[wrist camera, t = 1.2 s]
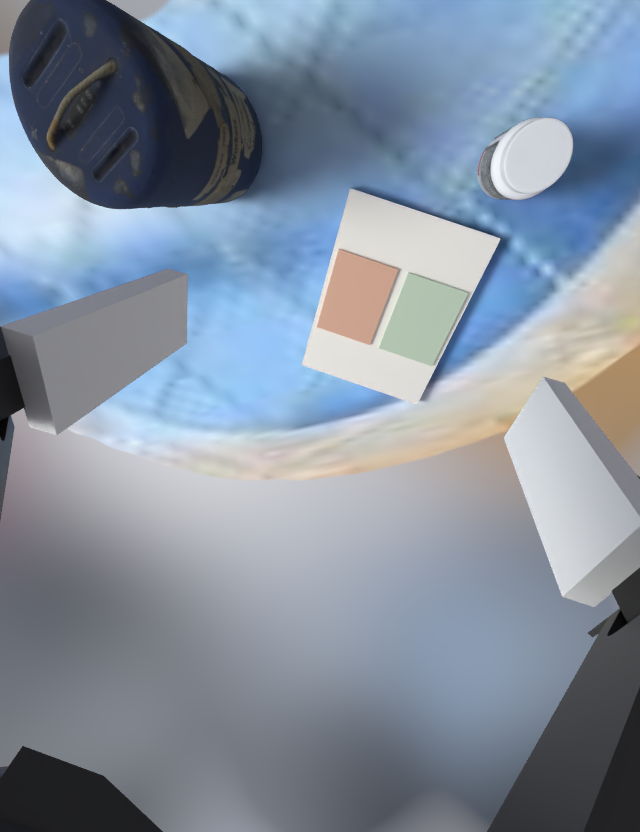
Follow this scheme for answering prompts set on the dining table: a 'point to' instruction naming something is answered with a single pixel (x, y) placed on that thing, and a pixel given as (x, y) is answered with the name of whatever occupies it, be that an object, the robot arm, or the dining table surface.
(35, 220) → the dining table surface
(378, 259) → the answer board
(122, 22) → the canister
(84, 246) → the dining table surface
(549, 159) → the pill bottle
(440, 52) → the dining table surface
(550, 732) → the robot arm
